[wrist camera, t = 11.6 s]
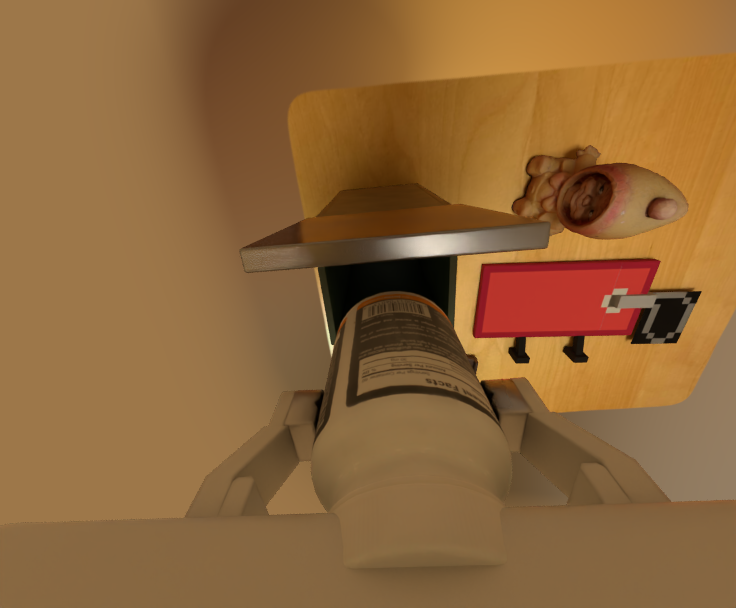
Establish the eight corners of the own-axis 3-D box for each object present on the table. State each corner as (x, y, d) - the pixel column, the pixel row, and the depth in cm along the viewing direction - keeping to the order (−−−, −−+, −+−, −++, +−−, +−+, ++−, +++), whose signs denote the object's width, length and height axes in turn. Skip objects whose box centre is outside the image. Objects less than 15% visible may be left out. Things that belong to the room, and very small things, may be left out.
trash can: (419, 258, 40) (453, 337, 22) (349, 263, 40) (331, 345, 23) (417, 183, 36) (459, 209, 18) (340, 190, 36) (309, 223, 19)
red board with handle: (665, 350, 45) (710, 256, 39) (682, 361, 43) (733, 262, 36) (469, 353, 47) (481, 263, 40) (474, 363, 44) (488, 269, 38)
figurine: (529, 140, 33) (676, 137, 20) (581, 147, 35) (746, 148, 22) (502, 228, 38) (609, 270, 25) (550, 230, 40) (673, 270, 27)
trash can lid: (548, 249, 9) (552, 221, 9) (244, 273, 9) (237, 249, 9) (461, 217, 18) (461, 203, 18) (309, 230, 18) (307, 217, 18)
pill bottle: (403, 397, 16) (437, 679, 8) (315, 347, 15) (231, 623, 6) (476, 327, 14) (642, 607, 5) (382, 261, 13) (402, 494, 4)
